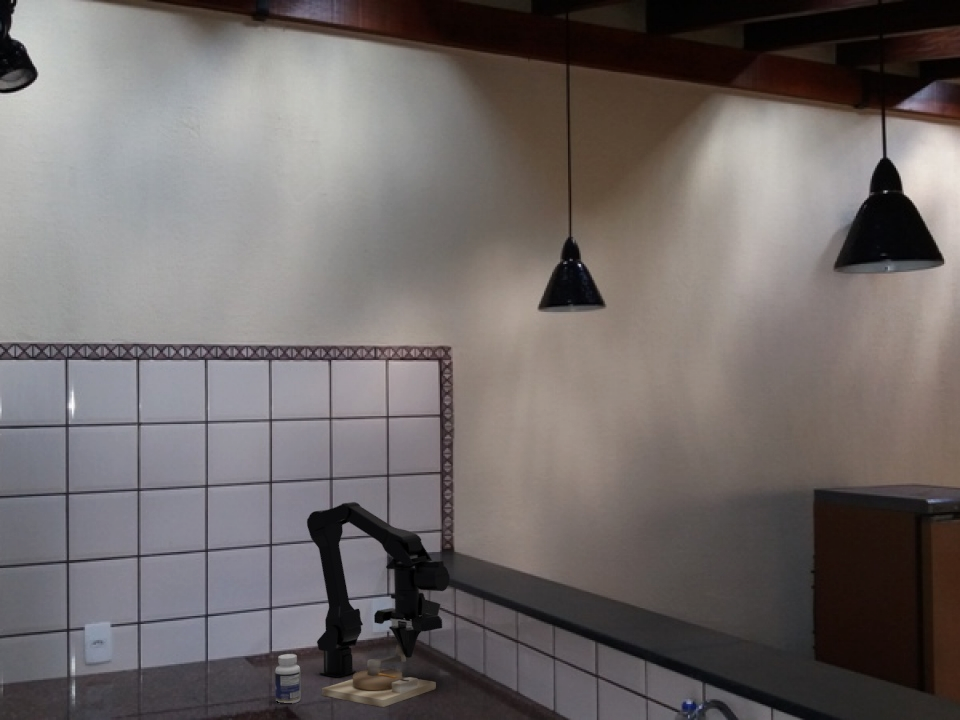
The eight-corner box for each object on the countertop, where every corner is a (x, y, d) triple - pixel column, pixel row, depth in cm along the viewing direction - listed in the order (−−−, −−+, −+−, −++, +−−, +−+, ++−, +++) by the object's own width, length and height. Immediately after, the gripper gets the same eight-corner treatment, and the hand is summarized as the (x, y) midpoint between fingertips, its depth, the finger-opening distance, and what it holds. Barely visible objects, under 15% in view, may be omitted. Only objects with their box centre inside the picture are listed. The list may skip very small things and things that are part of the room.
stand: (322, 695, 236) (322, 678, 236) (376, 678, 250) (375, 662, 250) (383, 707, 225) (382, 689, 225) (435, 688, 240) (435, 672, 240)
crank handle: (342, 685, 237) (342, 655, 237) (390, 671, 249) (389, 642, 250) (378, 692, 230) (377, 661, 231) (425, 677, 243) (425, 648, 243)
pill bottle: (276, 698, 234) (276, 653, 234) (301, 697, 234) (301, 652, 235) (274, 705, 228) (273, 659, 229) (299, 704, 229) (299, 658, 229)
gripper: (459, 588, 244) (461, 657, 242) (409, 581, 257) (411, 646, 256) (421, 594, 236) (423, 665, 235) (372, 587, 250) (373, 654, 249)
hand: (408, 657), depth 244 cm, fingers closed
